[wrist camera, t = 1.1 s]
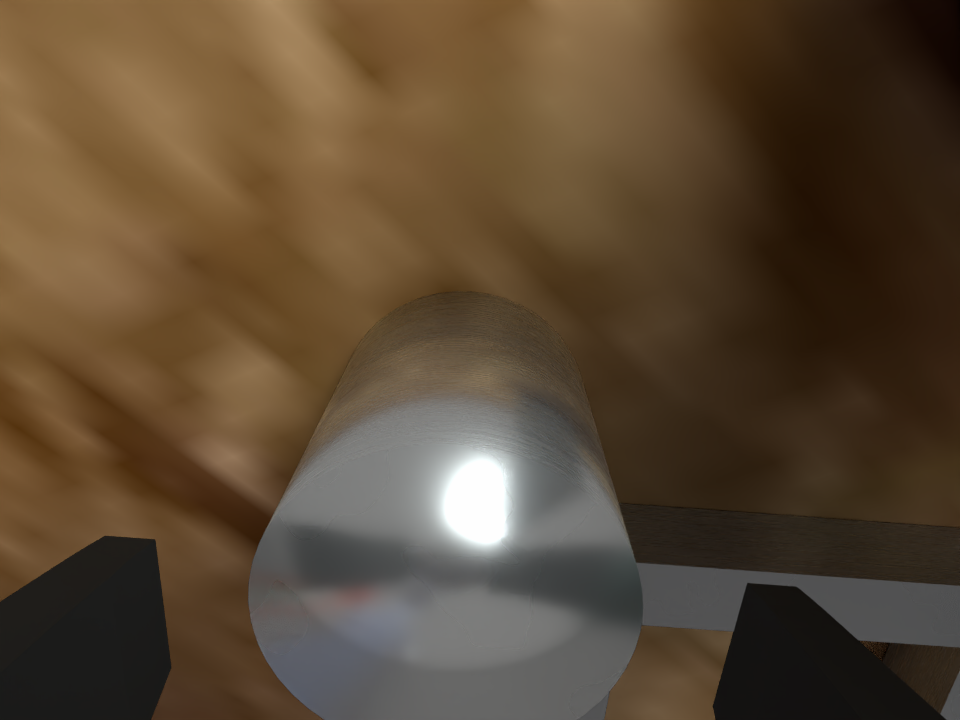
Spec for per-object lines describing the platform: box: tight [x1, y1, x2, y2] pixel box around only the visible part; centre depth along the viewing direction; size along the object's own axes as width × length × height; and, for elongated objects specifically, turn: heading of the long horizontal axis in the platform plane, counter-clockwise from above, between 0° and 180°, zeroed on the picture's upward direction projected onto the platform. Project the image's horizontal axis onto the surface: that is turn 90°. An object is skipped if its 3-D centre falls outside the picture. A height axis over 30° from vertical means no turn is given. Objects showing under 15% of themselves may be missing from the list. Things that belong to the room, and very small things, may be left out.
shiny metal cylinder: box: [248, 291, 643, 720], centre depth 12 cm, size 5×5×6 cm
